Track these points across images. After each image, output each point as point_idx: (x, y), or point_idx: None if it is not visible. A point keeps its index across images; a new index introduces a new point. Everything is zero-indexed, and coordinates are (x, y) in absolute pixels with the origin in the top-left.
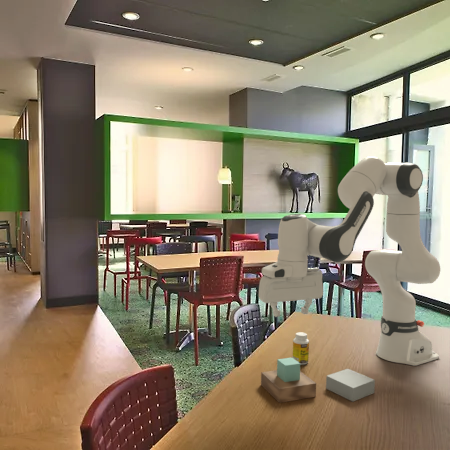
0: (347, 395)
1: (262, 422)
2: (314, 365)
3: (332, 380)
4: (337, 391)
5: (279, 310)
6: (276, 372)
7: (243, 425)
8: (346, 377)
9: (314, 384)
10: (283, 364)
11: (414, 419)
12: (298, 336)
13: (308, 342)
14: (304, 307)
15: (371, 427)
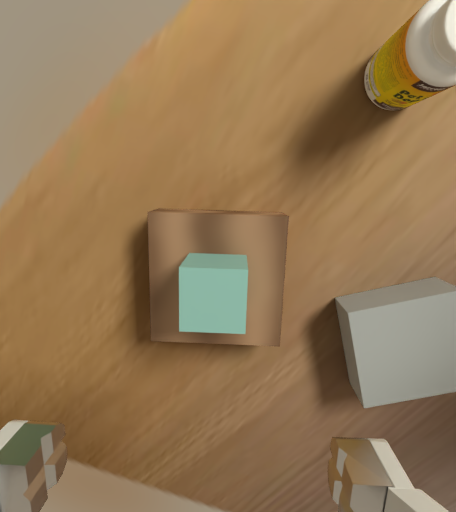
0: (350, 372)
1: (81, 385)
2: (424, 126)
3: (349, 333)
4: (344, 339)
5: (28, 504)
6: (199, 231)
7: (35, 381)
8: (400, 345)
9: (273, 344)
10: (179, 316)
11: (419, 488)
12: (442, 40)
13: None
14: (379, 509)
15: (302, 479)
